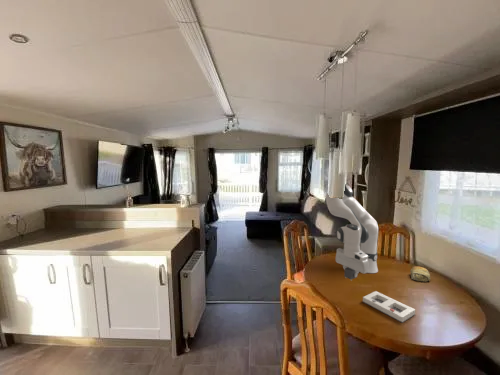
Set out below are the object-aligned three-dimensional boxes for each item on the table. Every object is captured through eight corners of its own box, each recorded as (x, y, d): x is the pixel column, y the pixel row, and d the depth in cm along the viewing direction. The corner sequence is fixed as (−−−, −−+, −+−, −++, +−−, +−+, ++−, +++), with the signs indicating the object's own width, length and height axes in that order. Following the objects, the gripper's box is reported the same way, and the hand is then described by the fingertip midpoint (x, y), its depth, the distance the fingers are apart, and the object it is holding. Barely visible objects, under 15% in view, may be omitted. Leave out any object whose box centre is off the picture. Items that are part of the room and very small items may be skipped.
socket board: (362, 301, 142) (363, 296, 142) (375, 295, 149) (375, 290, 148) (402, 323, 123) (402, 316, 123) (415, 314, 130) (415, 308, 130)
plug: (344, 278, 145) (344, 268, 144) (350, 275, 148) (350, 266, 147) (350, 281, 141) (351, 271, 141) (356, 278, 144) (357, 269, 143)
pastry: (420, 273, 179) (421, 263, 178) (435, 281, 167) (436, 270, 166) (403, 275, 177) (404, 264, 176) (418, 283, 165) (419, 272, 164)
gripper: (333, 248, 150) (332, 269, 151) (364, 259, 133) (363, 283, 134) (340, 246, 153) (339, 267, 155) (371, 256, 136) (369, 280, 137)
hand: (350, 274), depth 144 cm, fingers closed on plug, 4 cm apart
